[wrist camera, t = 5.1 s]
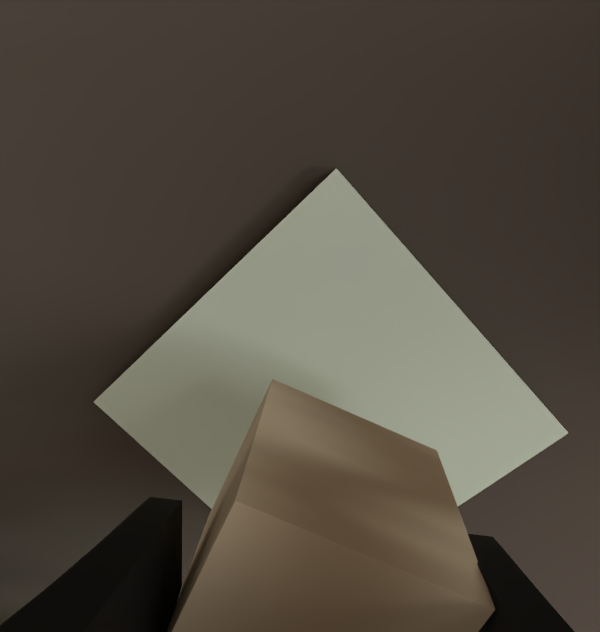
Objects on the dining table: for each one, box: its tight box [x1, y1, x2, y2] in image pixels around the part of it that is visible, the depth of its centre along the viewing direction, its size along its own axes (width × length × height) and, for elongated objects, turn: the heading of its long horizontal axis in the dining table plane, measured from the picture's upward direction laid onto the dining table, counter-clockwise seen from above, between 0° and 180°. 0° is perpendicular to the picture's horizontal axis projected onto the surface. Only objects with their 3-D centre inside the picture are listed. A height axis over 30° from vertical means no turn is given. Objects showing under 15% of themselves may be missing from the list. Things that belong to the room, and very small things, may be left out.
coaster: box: [94, 168, 568, 509], centre depth 14 cm, size 10×10×1 cm
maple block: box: [166, 379, 495, 632], centre depth 9 cm, size 4×4×4 cm
